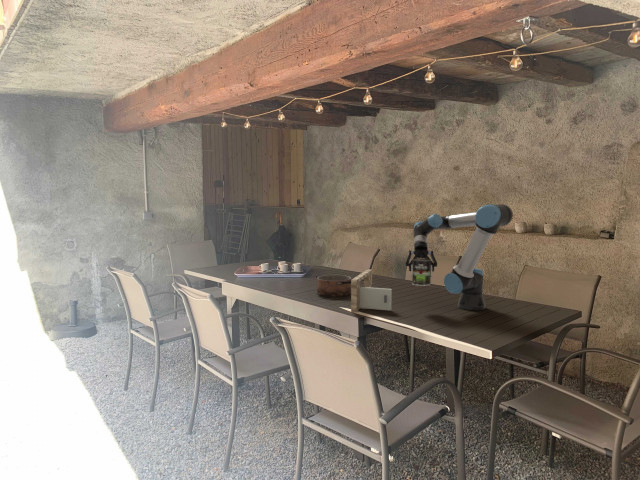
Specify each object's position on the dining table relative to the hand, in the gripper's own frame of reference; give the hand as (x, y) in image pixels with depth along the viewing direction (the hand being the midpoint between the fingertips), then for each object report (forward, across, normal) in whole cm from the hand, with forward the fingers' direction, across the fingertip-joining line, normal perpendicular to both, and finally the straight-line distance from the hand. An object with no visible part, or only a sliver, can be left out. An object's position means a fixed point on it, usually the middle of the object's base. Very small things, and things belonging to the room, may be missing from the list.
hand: (421, 275), depth 257 cm
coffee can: (+2, 0, -6) cm, 6 cm away
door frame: (+6, +34, -22) cm, 41 cm away
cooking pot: (-14, +55, -42) cm, 70 cm away
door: (+14, +27, -14) cm, 33 cm away
